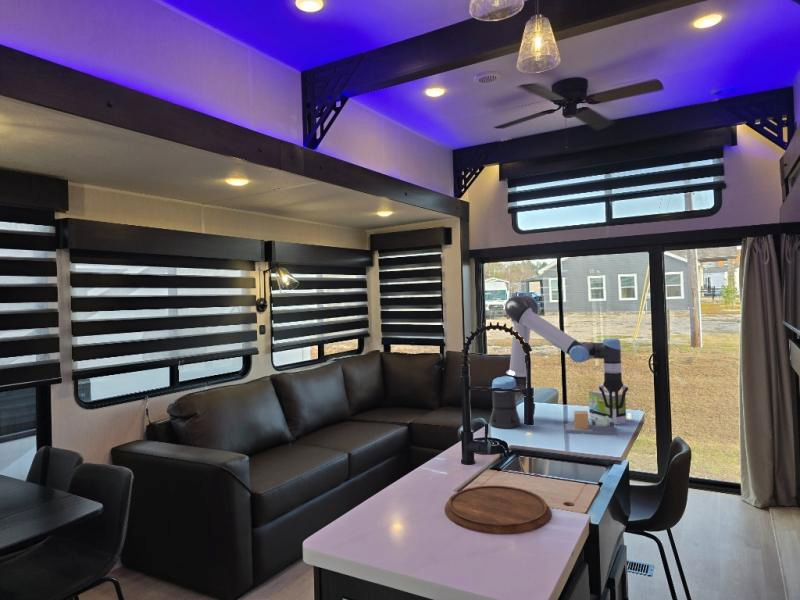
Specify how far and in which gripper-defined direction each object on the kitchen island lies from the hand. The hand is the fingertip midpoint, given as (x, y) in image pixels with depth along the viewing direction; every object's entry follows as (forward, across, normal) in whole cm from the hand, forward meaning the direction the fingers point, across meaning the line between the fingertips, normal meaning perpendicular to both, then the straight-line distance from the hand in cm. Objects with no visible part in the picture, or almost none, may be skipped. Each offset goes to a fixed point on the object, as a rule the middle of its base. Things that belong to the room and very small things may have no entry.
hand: (614, 422), depth 242 cm
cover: (+1, -5, 0) cm, 6 cm away
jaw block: (+3, -15, 0) cm, 15 cm away
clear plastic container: (+4, -11, 0) cm, 12 cm away
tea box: (+5, -2, +20) cm, 21 cm away
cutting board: (+5, -41, -100) cm, 108 cm away
